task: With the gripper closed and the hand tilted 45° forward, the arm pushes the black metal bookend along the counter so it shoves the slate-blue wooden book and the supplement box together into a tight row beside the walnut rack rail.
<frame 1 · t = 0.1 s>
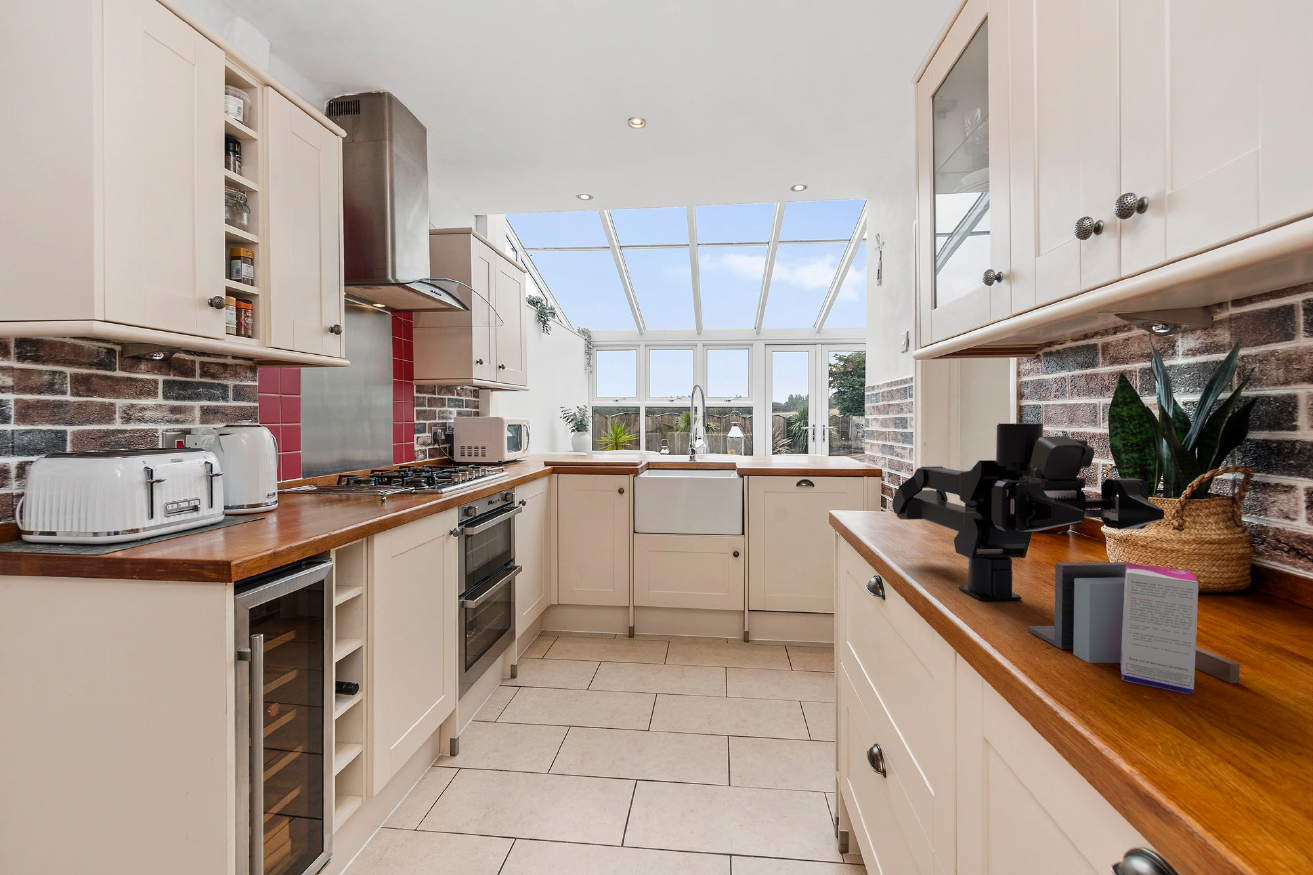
hand: (1123, 515, 67), 17 cm above the table, tool horizontal, fingers open, 9 cm apart
bookend: (1079, 599, 74), point 5 cm above the table, slide at 0.0 cm
book: (1115, 658, 68), on the table
rack rail: (1170, 654, 69), on the table
supplement box: (1156, 680, 63), on the table
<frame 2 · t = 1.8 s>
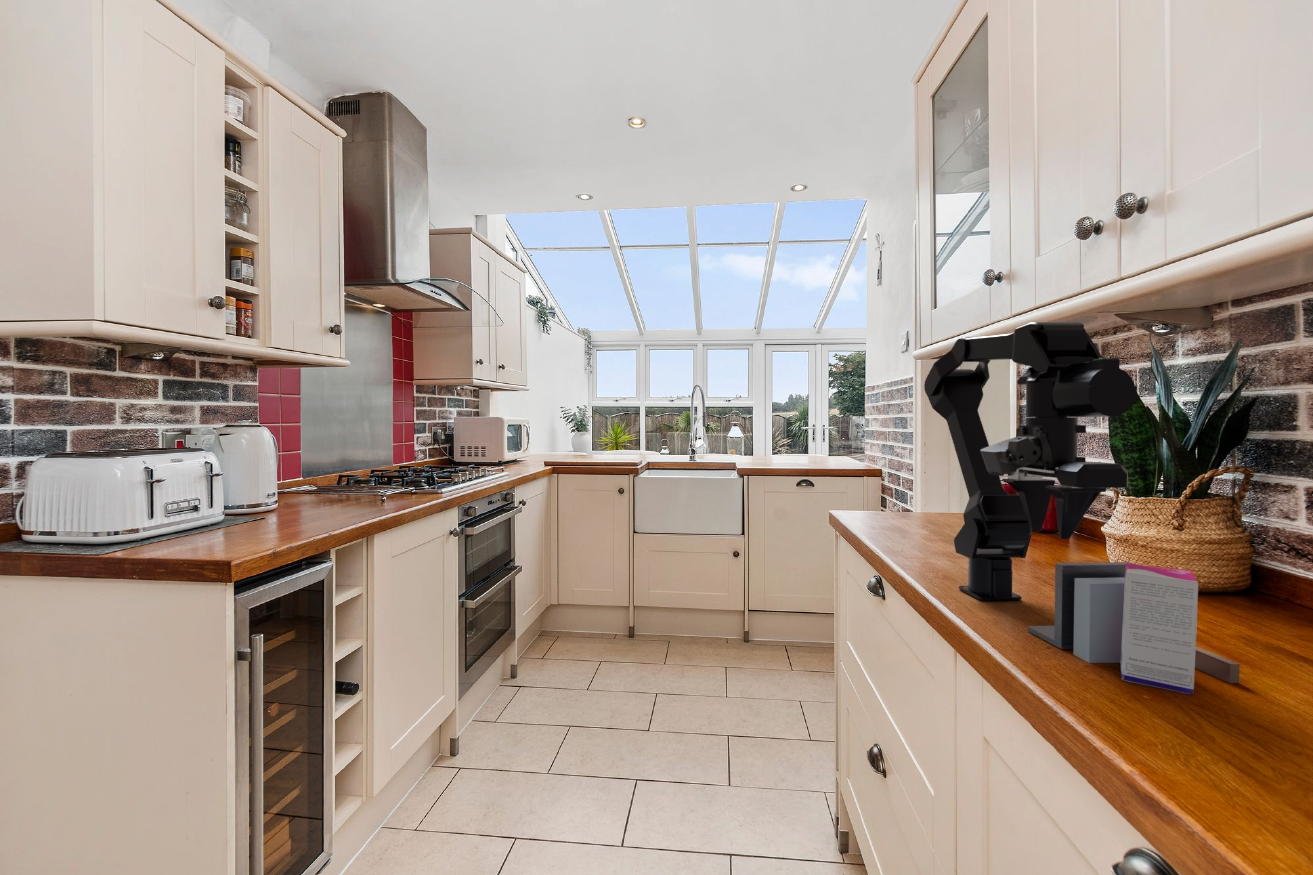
hand: (1049, 535, 79), 12 cm above the table, tool pointing down, fingers open, 5 cm apart
nothing on the table moved.
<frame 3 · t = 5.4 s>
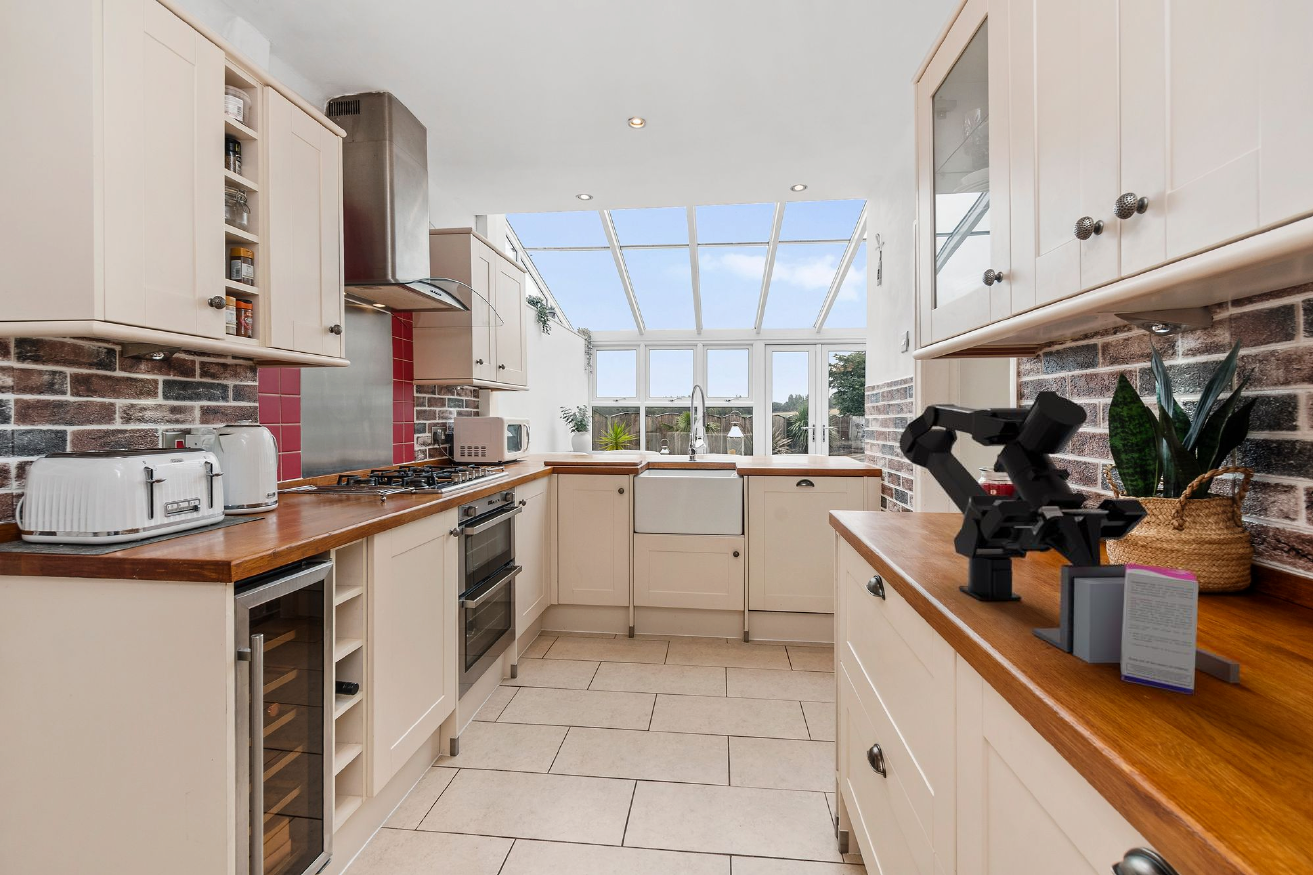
hand: (1095, 577, 71), 8 cm above the table, tool tilted 45°, fingers closed
bookend: (1085, 601, 73), point 5 cm above the table, slide at 1.0 cm
everything else where it was.
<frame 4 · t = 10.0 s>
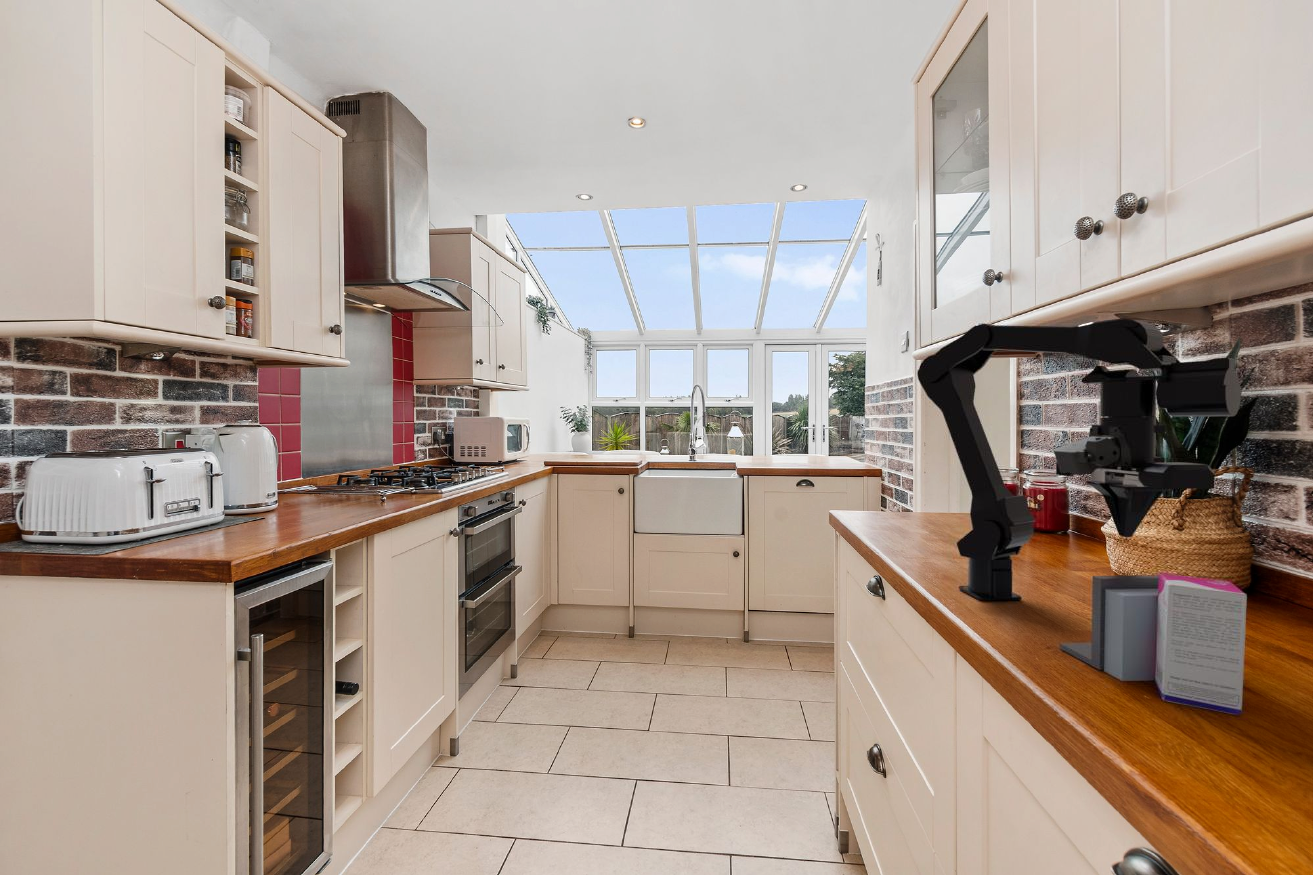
hand: (1125, 536, 78), 12 cm above the table, tool pointing down, fingers closed
bookend: (1117, 614, 68), point 5 cm above the table, slide at 5.9 cm
book: (1149, 675, 64), on the table
supplement box: (1195, 698, 59), on the table
at the end: bookend slide at 5.9 cm; supplement box moved 4.2 cm from its start; supplement box tilted 0° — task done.
